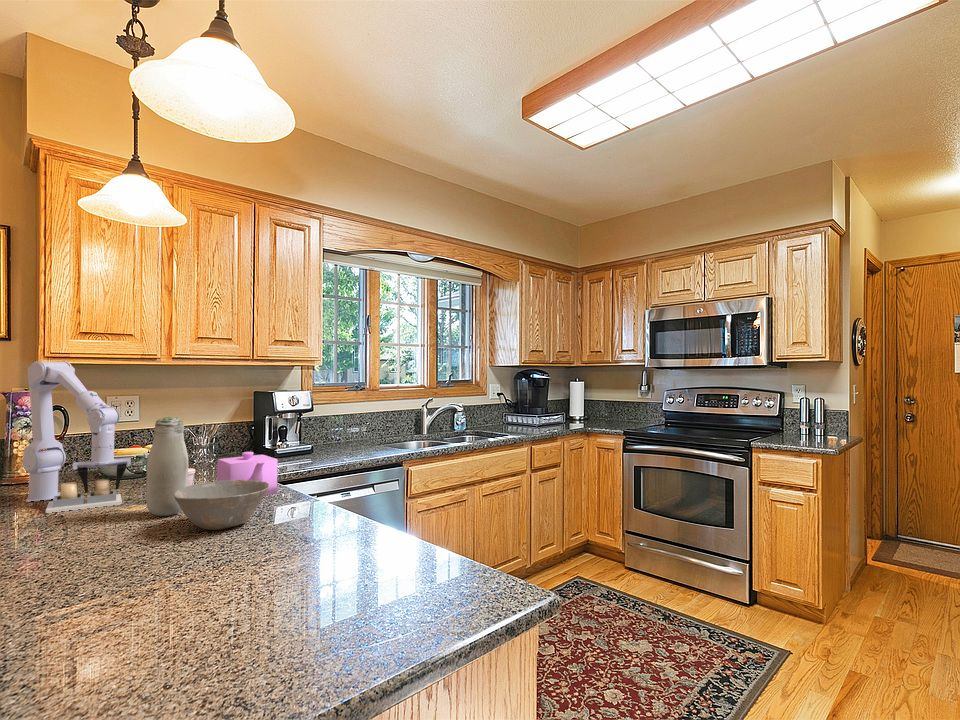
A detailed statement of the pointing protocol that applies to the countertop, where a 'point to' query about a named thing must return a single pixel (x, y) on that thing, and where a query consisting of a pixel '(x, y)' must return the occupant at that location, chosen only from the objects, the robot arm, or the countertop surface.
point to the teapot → (249, 469)
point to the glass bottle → (166, 467)
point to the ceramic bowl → (220, 502)
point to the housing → (80, 499)
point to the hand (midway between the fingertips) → (101, 490)
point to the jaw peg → (101, 487)
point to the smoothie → (190, 476)
